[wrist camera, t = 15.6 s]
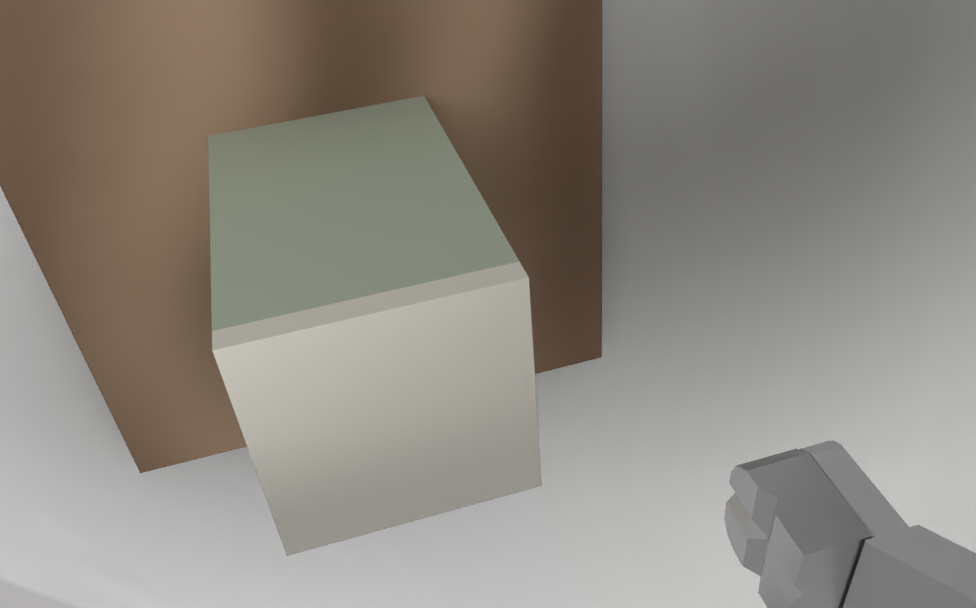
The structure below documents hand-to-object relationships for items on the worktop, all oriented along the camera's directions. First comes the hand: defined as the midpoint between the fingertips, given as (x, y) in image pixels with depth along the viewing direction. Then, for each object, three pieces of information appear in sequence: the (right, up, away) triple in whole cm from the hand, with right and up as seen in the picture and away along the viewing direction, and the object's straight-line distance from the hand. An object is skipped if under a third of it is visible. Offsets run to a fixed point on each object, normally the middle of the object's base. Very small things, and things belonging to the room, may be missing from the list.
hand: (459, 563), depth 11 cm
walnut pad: (-3, +6, +10) cm, 12 cm away
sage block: (-3, +6, +9) cm, 11 cm away
